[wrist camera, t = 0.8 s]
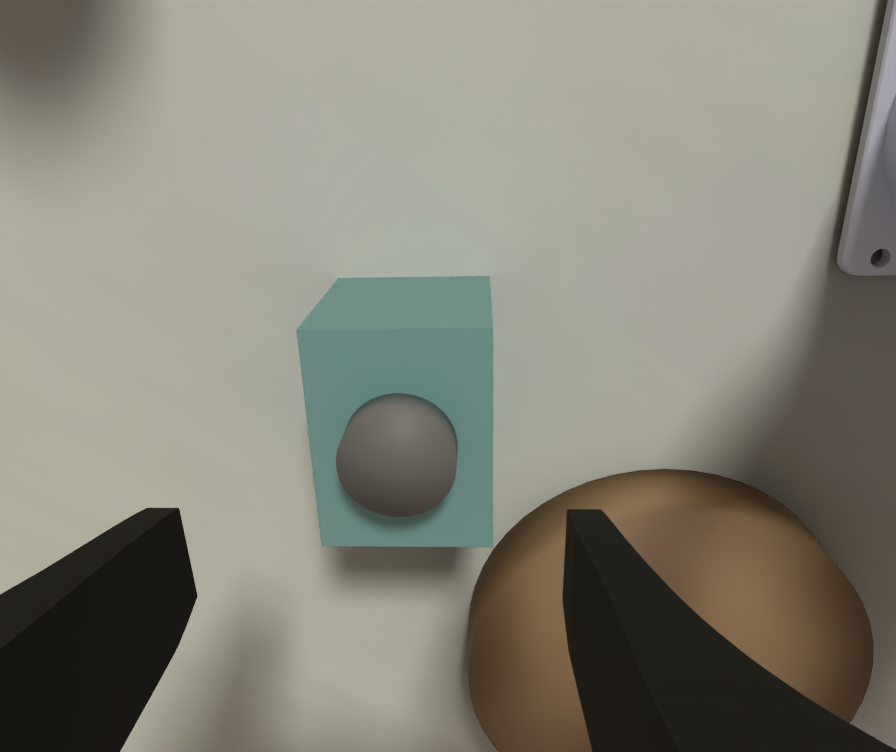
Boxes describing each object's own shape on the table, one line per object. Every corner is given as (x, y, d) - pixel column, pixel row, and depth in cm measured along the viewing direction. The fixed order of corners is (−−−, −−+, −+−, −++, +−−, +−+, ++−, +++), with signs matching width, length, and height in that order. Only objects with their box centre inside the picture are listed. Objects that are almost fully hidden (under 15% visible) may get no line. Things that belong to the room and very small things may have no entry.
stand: (869, 469, 21) (917, 513, 19) (799, 755, 26) (830, 818, 24) (467, 468, 22) (465, 511, 20) (471, 748, 27) (470, 808, 24)
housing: (489, 275, 19) (493, 342, 14) (489, 453, 22) (493, 572, 16) (338, 277, 20) (284, 344, 14) (354, 453, 22) (312, 571, 16)
